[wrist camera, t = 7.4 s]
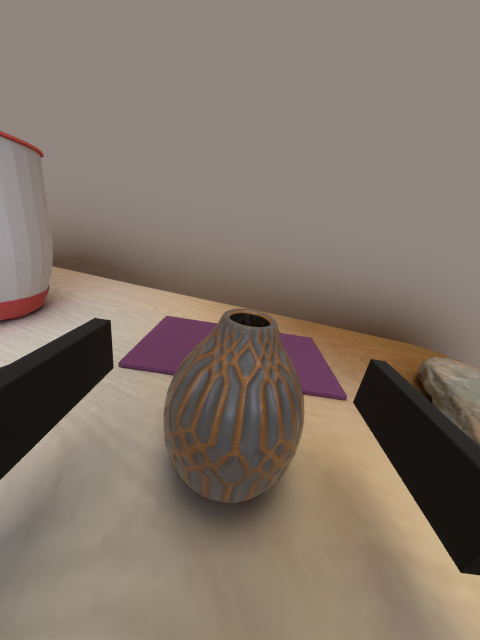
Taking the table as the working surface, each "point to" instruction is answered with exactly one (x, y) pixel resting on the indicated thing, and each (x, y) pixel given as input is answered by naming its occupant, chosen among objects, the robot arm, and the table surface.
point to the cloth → (184, 334)
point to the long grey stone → (454, 391)
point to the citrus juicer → (23, 229)
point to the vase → (234, 410)
